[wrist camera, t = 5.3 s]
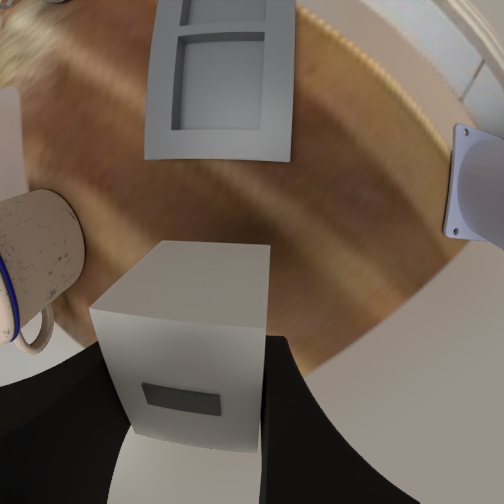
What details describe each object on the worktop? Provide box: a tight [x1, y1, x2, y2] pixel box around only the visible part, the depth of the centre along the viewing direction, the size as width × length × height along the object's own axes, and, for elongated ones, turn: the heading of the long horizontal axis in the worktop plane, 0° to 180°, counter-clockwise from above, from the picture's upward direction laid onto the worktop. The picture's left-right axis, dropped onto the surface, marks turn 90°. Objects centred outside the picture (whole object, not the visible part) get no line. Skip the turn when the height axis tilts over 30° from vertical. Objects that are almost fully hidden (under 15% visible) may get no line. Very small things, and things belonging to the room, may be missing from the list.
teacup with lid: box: [0, 189, 85, 355], centre depth 14 cm, size 12×9×12 cm
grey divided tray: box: [144, 0, 295, 162], centre depth 13 cm, size 8×15×3 cm, turn 178°
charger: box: [89, 240, 270, 453], centre depth 9 cm, size 4×5×5 cm
